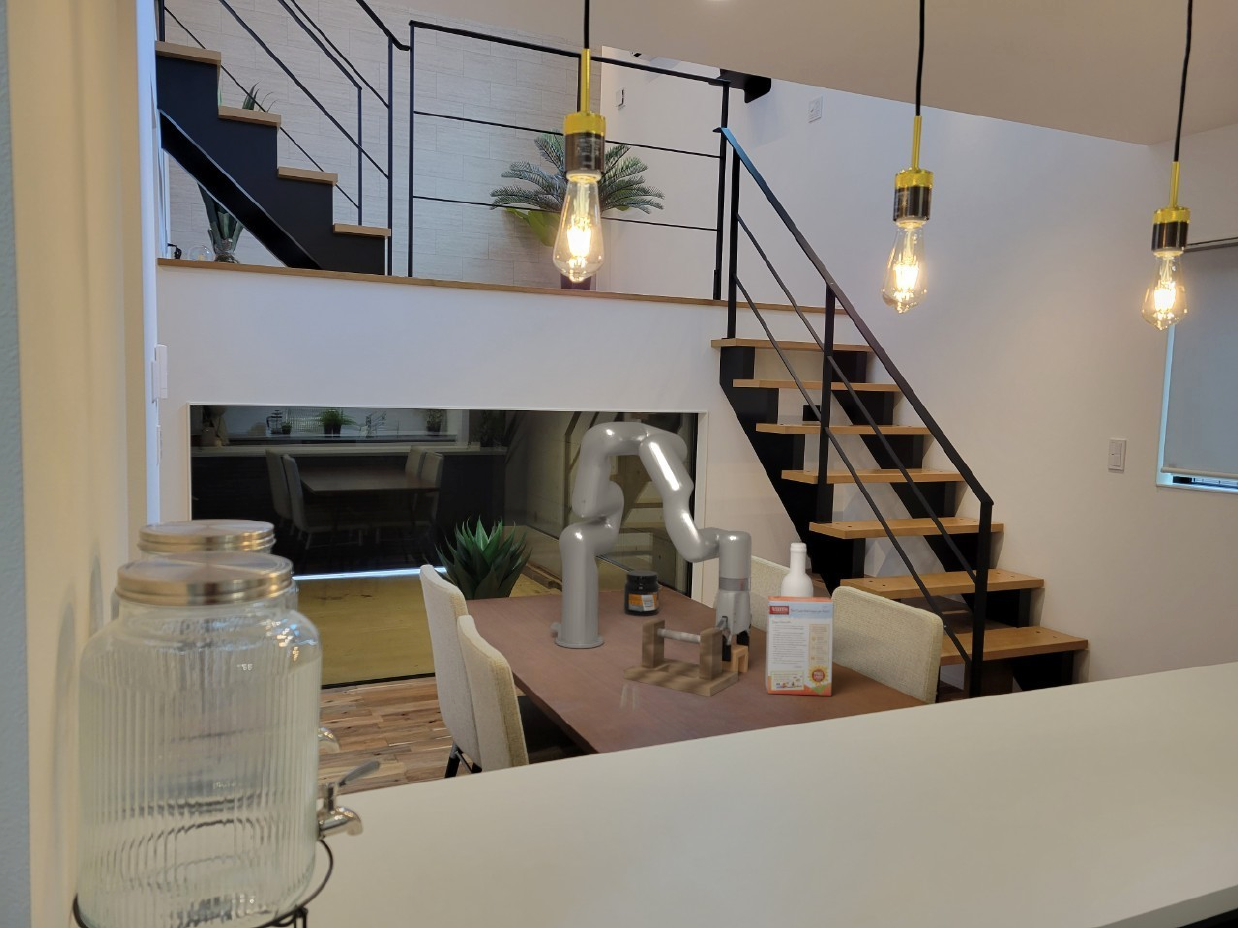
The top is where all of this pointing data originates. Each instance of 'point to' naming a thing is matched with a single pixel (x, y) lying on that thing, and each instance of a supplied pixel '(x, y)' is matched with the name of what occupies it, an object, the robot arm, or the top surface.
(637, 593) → the supplement container
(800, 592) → the bottle
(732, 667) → the notched block
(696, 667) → the tan frame
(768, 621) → the cracker box
